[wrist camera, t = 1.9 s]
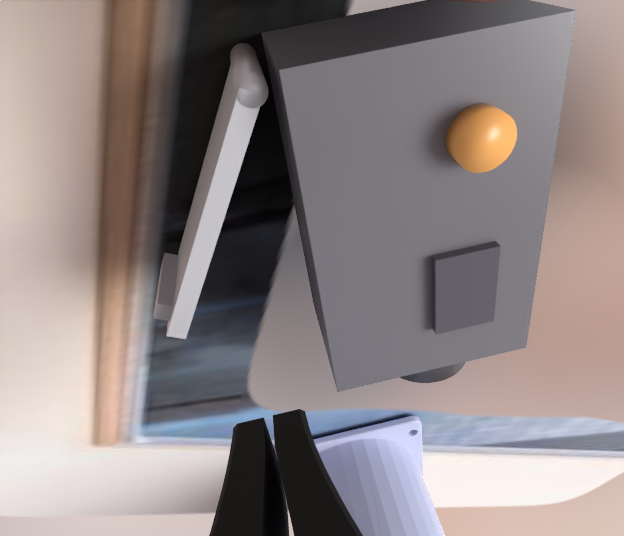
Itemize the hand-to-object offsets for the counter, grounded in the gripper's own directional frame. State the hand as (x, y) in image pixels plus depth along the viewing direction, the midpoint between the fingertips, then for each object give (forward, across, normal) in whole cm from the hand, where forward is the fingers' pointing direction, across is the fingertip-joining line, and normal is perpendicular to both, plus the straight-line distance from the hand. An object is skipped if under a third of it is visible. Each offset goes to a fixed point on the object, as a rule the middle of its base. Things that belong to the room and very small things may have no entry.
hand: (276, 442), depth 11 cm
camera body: (+9, -5, -2) cm, 11 cm away
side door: (+9, +1, -3) cm, 10 cm away
